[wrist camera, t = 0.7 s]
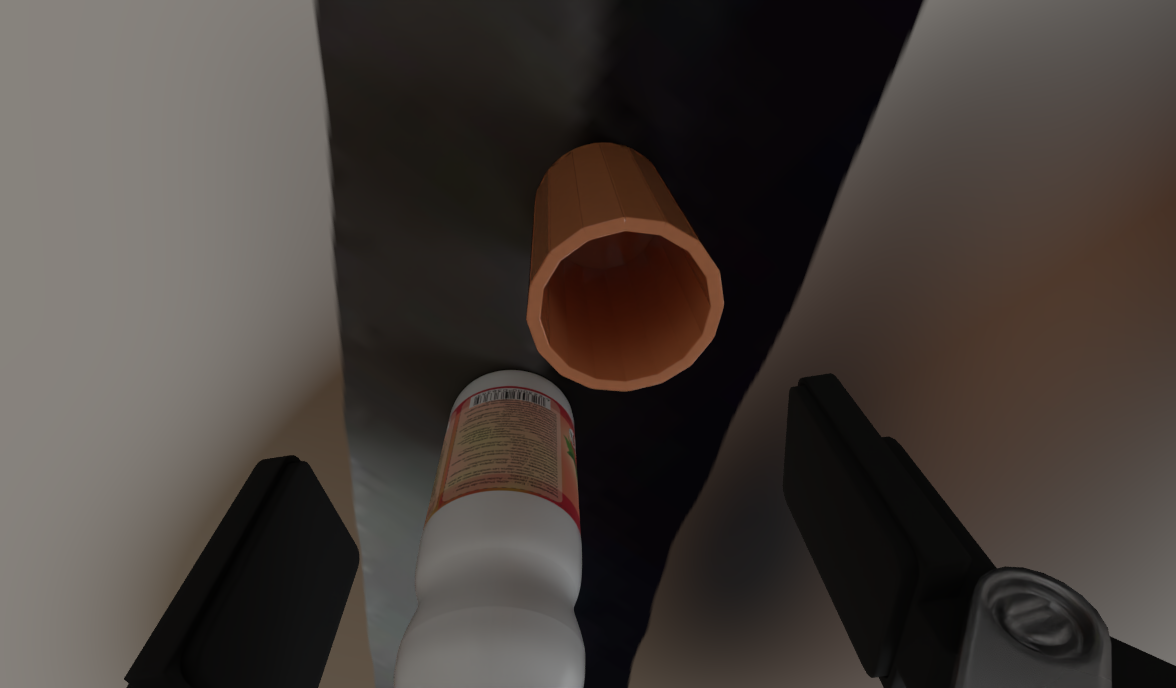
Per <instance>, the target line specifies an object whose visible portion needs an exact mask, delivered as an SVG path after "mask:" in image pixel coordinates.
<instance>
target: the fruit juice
mask: <svg viewBox="0 0 1176 688" xmlns="http://www.w3.org/2000/svg"><path fill="white" fill-rule="evenodd" d="M581 574H582V544H581V533H580V518H579V501H578V484H577V467H576V450H575V433H574V419H573V414H572V411H571V407H570V404H569V402H568V400H567V399H566V397H565V395H564V394H563V393H562V391H561V390H560V389H559V388H558V387H557V386H556V385H554V384H553V383H552V382H550V381H549V380H547V379H546V378H544V377H542V376H539V375H537V374H534V373H531V372H526V371H520V370H502V371H496V372H492V373H489V374H486V375H483V376H481V377H479V378H477V379H476V380H474V381H473V382H471V383H470V384H469V385H468V386H466V387H465V388H464V390H463V391H462V392H461V393H460V394H459V396H458V397H457V399H456V401H455V403H454V405H453V408H452V410H451V413H450V418H449V422H448V426H447V430H446V435H445V439H444V443H443V448H442V452H441V456H440V460H439V465H438V469H437V473H436V478H435V482H434V486H433V491H432V495H431V499H430V504H429V508H428V512H427V517H426V521H425V525H424V529H423V532H422V536H421V540H420V545H419V551H418V557H417V563H416V571H415V591H416V596H417V600H418V608H417V610H416V612H415V614H414V616H413V618H412V620H411V622H410V623H409V625H408V627H407V629H406V632H405V634H404V636H403V638H402V641H401V644H400V647H399V650H398V654H397V660H396V666H395V673H394V688H583V686H584V679H585V650H584V644H583V640H582V636H581V632H580V629H579V626H578V623H577V620H576V617H575V614H574V605H575V602H576V600H577V597H578V594H579V590H580V585H581Z"/></svg>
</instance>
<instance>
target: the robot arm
mask: <svg viewBox="0 0 1176 688" xmlns="http://www.w3.org/2000/svg"><path fill="white" fill-rule="evenodd" d="M784 462H785V463H784V476H783V491H784V496H785V500H786V502H787V505H788V507H789V509H790V511H791V513H792V516H793V518H794V520H795V522H796V524H797V526H798V528H799V530H800V532H801V535H802V537H803V539H804V541H805V543H806V546H807V548H808V550H809V552H810V554H811V556H812V558H813V560H814V563H815V565H816V567H817V569H818V571H819V573H820V575H821V578H822V580H823V582H824V584H825V586H826V589H827V590H828V593H829V595H830V597H831V599H832V601H833V603H834V606H835V608H836V610H837V612H838V614H839V616H840V619H841V621H842V623H843V625H844V627H845V629H846V631H847V633H848V636H849V638H850V640H851V642H852V644H853V646H854V649H855V651H856V653H857V655H858V657H859V659H860V661H861V664H862V665H863V667H864V669H865V671H866V673H867V674H868V675H869V676H870V677H871V678H874V677H879V679H880V681H881V683H882V685H883V687H884V688H1176V666H1174V665H1172V664H1170V663H1167V662H1165V661H1163V660H1161V659H1159V658H1157V657H1154V656H1152V655H1150V654H1148V653H1146V652H1143V651H1141V650H1139V649H1137V648H1135V647H1132V646H1130V645H1128V644H1126V643H1123V642H1121V641H1119V640H1117V639H1114V638H1112V637H1110V636H1109V632H1108V627H1107V626H1106V624H1105V623H1104V621H1103V620H1102V618H1101V616H1100V615H1099V613H1098V611H1097V610H1096V609H1095V608H1094V607H1093V606H1092V605H1091V604H1090V603H1089V602H1088V601H1087V600H1086V599H1085V598H1084V597H1083V596H1082V595H1081V594H1079V593H1078V592H1076V591H1075V590H1073V589H1072V588H1070V587H1069V586H1067V585H1066V584H1065V583H1063V582H1061V581H1059V580H1057V579H1055V578H1053V577H1051V576H1048V575H1046V574H1044V573H1041V572H1038V571H1034V570H1030V569H1026V568H1019V567H1002V568H996V567H995V566H994V564H993V563H992V562H991V560H990V559H989V558H988V557H987V555H986V554H985V553H984V551H983V550H982V549H981V548H980V546H979V545H978V544H977V543H976V541H975V540H974V539H973V537H972V536H971V535H970V533H969V532H968V531H967V530H966V528H965V527H964V526H963V524H962V523H961V522H960V521H959V519H958V518H957V517H956V516H955V514H954V513H953V512H952V510H951V509H950V508H949V506H948V505H947V504H946V503H945V501H944V500H943V499H942V498H941V496H940V495H939V494H938V492H937V491H936V490H935V488H934V487H933V486H932V485H931V483H930V482H929V481H928V480H927V478H926V477H925V476H924V474H923V473H922V472H921V470H920V469H919V468H918V467H917V466H916V464H915V463H914V462H913V460H912V459H911V458H910V456H909V455H908V454H907V453H906V451H905V450H904V449H903V447H902V446H901V445H900V444H899V443H898V442H897V441H896V440H895V439H893V438H891V437H881V436H880V435H879V433H878V432H877V431H876V429H875V428H874V427H873V425H872V424H871V423H870V421H869V420H868V419H867V417H866V416H865V415H864V414H863V412H862V411H861V409H860V408H859V407H858V406H857V404H856V403H855V402H854V400H853V399H852V397H851V396H850V395H849V393H848V392H847V391H846V389H845V388H844V387H843V385H842V384H841V383H840V381H839V380H838V379H837V378H836V376H835V375H833V374H831V373H830V374H824V375H817V376H811V377H804V378H801V379H800V380H799V382H798V386H796V387H791V389H790V391H789V403H788V418H787V432H786V447H785V461H784ZM358 565H359V551H358V548H357V546H356V544H355V542H354V540H353V539H352V537H351V535H350V534H349V532H348V530H347V528H346V527H345V525H344V523H343V522H342V520H341V518H340V517H339V515H338V513H337V511H336V510H335V508H334V506H333V505H332V503H331V501H330V499H329V498H328V496H327V494H326V493H325V491H324V489H323V487H322V486H321V484H320V482H319V481H318V479H317V477H316V476H315V474H314V472H313V470H312V469H311V467H310V465H309V464H308V463H307V462H305V461H300V460H299V458H298V457H296V456H294V455H290V456H283V457H276V458H270V459H264V460H261V461H260V462H259V463H258V464H257V465H256V467H255V468H254V469H253V471H252V473H251V474H250V476H249V477H248V479H247V481H246V482H245V484H244V486H243V487H242V489H241V490H240V492H239V494H238V495H237V497H236V499H235V500H234V502H233V503H232V505H231V507H230V508H229V510H228V512H227V513H226V515H225V516H224V518H223V519H222V521H221V523H220V524H219V526H218V528H217V529H216V531H215V532H214V534H213V536H212V537H211V539H210V541H209V542H208V544H207V545H206V547H205V549H204V551H203V552H202V553H201V555H200V557H199V559H198V560H197V562H196V563H195V565H194V566H193V568H192V570H191V571H190V573H189V574H188V576H187V578H186V579H185V581H184V583H183V584H182V586H181V587H180V589H179V591H178V592H177V594H176V595H175V597H174V599H173V600H172V602H171V604H170V605H169V607H168V609H167V610H166V612H165V613H164V615H163V617H162V618H161V620H160V621H159V623H158V625H157V626H156V628H155V629H154V631H153V633H152V634H151V636H150V637H149V639H148V641H147V642H146V644H145V646H144V647H143V649H142V651H141V652H140V654H139V655H138V657H137V659H136V660H135V662H134V664H133V665H132V667H131V668H130V670H129V671H128V673H127V675H126V676H125V678H124V680H126V681H127V682H128V683H129V684H128V686H127V688H318V686H319V683H320V680H321V677H322V674H323V671H324V668H325V665H326V662H327V659H328V656H329V653H330V650H331V647H332V644H333V641H334V638H335V635H336V632H337V629H338V626H339V623H340V620H341V617H342V614H343V611H344V608H345V605H346V602H347V599H348V596H349V593H350V590H351V587H352V584H353V581H354V578H355V575H356V572H357V569H358Z"/></svg>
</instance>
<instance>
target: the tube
mask: <svg viewBox="0 0 1176 688" xmlns="http://www.w3.org/2000/svg"><path fill="white" fill-rule="evenodd" d="M723 307H724V299H723V291H722V283H721V276H720V271H719V269H718V267H717V266H716V264H715V262H714V261H713V259H712V258H711V256H710V254H709V253H708V251H707V249H706V248H705V246H704V245H703V243H702V241H701V240H700V238H699V237H698V235H697V233H696V232H695V230H694V228H693V227H692V225H691V224H690V222H689V220H688V219H687V217H686V215H685V214H684V212H683V211H682V209H681V207H680V206H679V204H678V202H677V201H676V199H675V198H674V196H673V194H672V193H671V191H670V190H669V188H668V186H667V185H666V183H665V182H664V180H663V179H662V177H661V176H660V174H659V173H658V171H657V170H656V168H655V167H654V165H653V164H652V163H651V162H650V161H649V160H648V159H646V158H645V157H644V156H643V155H641V154H640V153H638V152H637V151H635V150H633V149H631V148H628V147H626V146H623V145H619V144H614V143H592V144H587V145H584V146H581V147H578V148H575V149H573V150H571V151H569V152H567V153H566V154H565V155H563V156H562V157H560V158H559V159H558V160H557V161H556V162H555V163H554V164H553V165H552V166H551V167H550V168H549V169H548V171H547V172H546V174H545V175H544V177H543V178H542V180H541V182H540V185H539V187H538V190H537V192H536V194H535V203H534V214H533V227H532V241H531V256H530V271H529V285H528V300H527V314H526V319H527V323H528V326H529V329H530V332H531V334H532V337H533V340H534V343H535V345H536V348H537V350H538V352H539V353H540V354H541V355H542V356H543V357H544V358H545V359H546V360H547V361H548V362H549V363H550V364H551V365H552V366H553V367H554V368H555V369H556V370H557V371H558V372H559V373H560V374H561V375H562V376H564V377H566V378H569V379H571V380H573V381H575V382H578V383H580V384H582V385H584V386H587V387H589V388H591V389H592V388H593V389H601V390H614V391H631V390H636V389H640V388H644V387H648V386H653V385H657V384H660V383H663V382H665V381H667V380H668V379H670V378H671V377H673V376H675V375H676V374H678V373H680V372H681V371H683V370H685V369H686V368H688V367H690V366H691V364H693V363H694V362H695V360H696V359H697V358H698V357H699V356H700V354H701V353H702V352H703V351H704V349H705V348H706V347H707V346H708V345H709V343H710V342H711V341H712V340H713V338H714V336H715V333H716V330H717V326H718V323H719V320H720V317H721V314H722V311H723Z"/></svg>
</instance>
